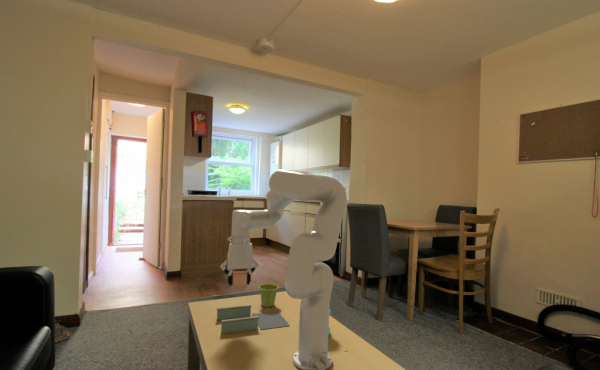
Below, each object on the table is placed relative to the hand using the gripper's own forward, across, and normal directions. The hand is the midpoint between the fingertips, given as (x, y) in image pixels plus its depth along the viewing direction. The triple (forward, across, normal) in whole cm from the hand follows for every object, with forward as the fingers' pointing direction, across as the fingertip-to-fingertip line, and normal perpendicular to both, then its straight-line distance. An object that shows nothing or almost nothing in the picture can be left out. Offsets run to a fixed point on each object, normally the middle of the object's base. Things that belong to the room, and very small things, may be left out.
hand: (239, 284), depth 126 cm
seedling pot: (+1, 0, 0) cm, 1 cm away
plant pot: (+16, +18, +18) cm, 30 cm away
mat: (+16, +14, +1) cm, 21 cm away
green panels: (+16, 0, +1) cm, 16 cm away
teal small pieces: (+17, +28, -16) cm, 36 cm away
